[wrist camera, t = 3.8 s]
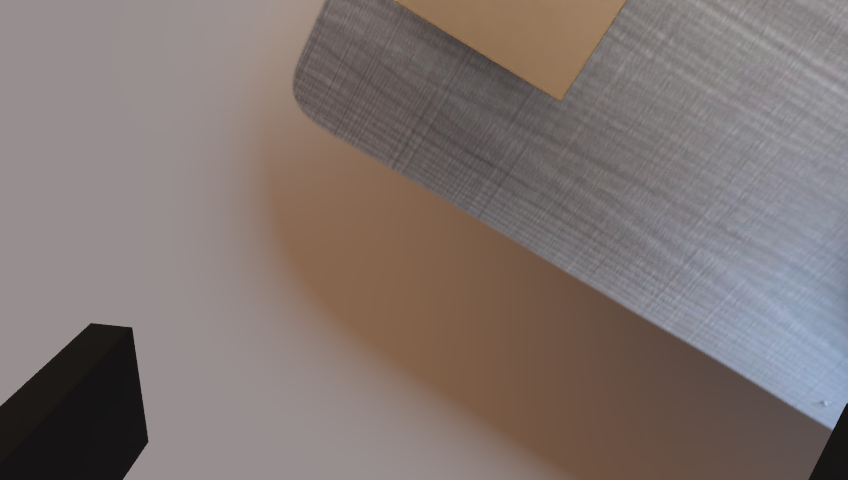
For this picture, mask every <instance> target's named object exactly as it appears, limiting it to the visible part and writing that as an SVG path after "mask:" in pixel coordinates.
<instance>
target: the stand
mask: <svg viewBox="0 0 848 480" xmlns="http://www.w3.org/2000/svg"><path fill="white" fill-rule="evenodd" d="M393 1H395V2H396V3H398V4H400V5H401V6H403V7H404V8H406V9H408V10H409V11H411V12H413V13H414V14H416V15H418V16H419V17H421V18H423V19H424V20H426V21H428V22H429V23H431V24H432V25H434V26H436V27H437V28H439V29H441V30H442V31H444V32H446V33H447V34H449V35H451V36H452V37H454V38H456V39H457V40H459V41H460V42H462V43H464V44H465V45H467V46H469V47H470V48H472V49H474V50H475V51H477V52H479V53H480V54H482V55H484V56H485V57H487V58H488V59H490V60H492V61H493V62H495V63H497V64H498V65H500V66H502V67H503V68H505V69H507V70H508V71H510V72H512V73H513V74H515V75H516V76H518V77H520V78H521V79H523V80H525V81H526V82H528V83H530V84H531V85H533V86H535V87H536V88H538V89H540V90H541V91H543V92H544V93H546V94H548V95H549V96H551V97H553V98H554V99H556V100H558V101H562V99H563V98H564V96H565V95H566V93H567V92H568V90H569V88H570V87H571V85H572V84H573V82H574V81H575V79H576V78H577V76H578V75H579V73H580V72H581V70H582V69H583V67H584V66H585V64H586V62H587V61H588V59H589V58H590V56H591V55H592V53H593V52H594V50H595V49H596V47H597V46H598V44H599V43H600V41H601V40H602V38H603V36H604V35H605V33H606V32H607V30H608V29H609V27H610V26H611V24H612V23H613V21H614V20H615V18H616V17H617V15H618V14H619V12H620V10H621V9H622V7H623V6H624V4H625V3H626V1H627V0H393Z"/></svg>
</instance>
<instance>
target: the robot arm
mask: <svg viewBox="0 0 848 480" xmlns="http://www.w3.org/2000/svg"><path fill="white" fill-rule="evenodd" d="M136 359H137V358H136V352H135V345H134V338H133V331H132V328H131V327H122V326H112V325H102V324H93V323H91V324H90V325H89V326H87V328H85V329H84V330H83V331H82V332H81V333H80V334H79V335H78V336H77V337H75V338H74V339H73V340H72V341H71V342H70V343H69V344H68V345H67V346H66V347H65V348H63V349H62V350H61V351H60V352H59V353H58V354H57V355H56V356H55V357H54V358H53V359H51V360H50V362H48V363H47V364H46V365H45V366H44V367H43V368H42V369H41V370H39V372H38V373H36V374H35V375H34V376H33V377H32V378H31V379H30V380H29V381H27V382H26V383H25V384H24V385H23V386H22V387H21V388H20V389H19V390H18V391H17V392H16V393H14V394H13V395H12V396H11V397H10V398H9V399H8V400H7V401H6V402H5V403H4V404H2V405H1V406H0V480H123V478H124V477H125V475H126V474H127V472H128V471H129V470H130V468H131V467H132V465H133V464H134V462H135V461H136V459H137V458H138V456H139V455H140V453H141V452H142V450H143V449H144V447H145V446H146V445H147V443H148V436H147V428H146V421H145V415H144V407H143V400H142V394H141V387H140V380H139V373H138V365H137V360H136ZM809 480H848V403H847V404H846V406H845V408H844V410H843V412H842V414H841V416H840V418H839V420H838V422H837V424H836V426H835V428H834V430H833V432H832V434H831V436H830V438H829V440H828V442H827V444H826V446H825V448H824V450H823V452H822V454H821V456H820V458H819V460H818V462H817V464H816V466H815V468H814V470H813V472H812V474H811V476H810V478H809Z"/></svg>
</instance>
